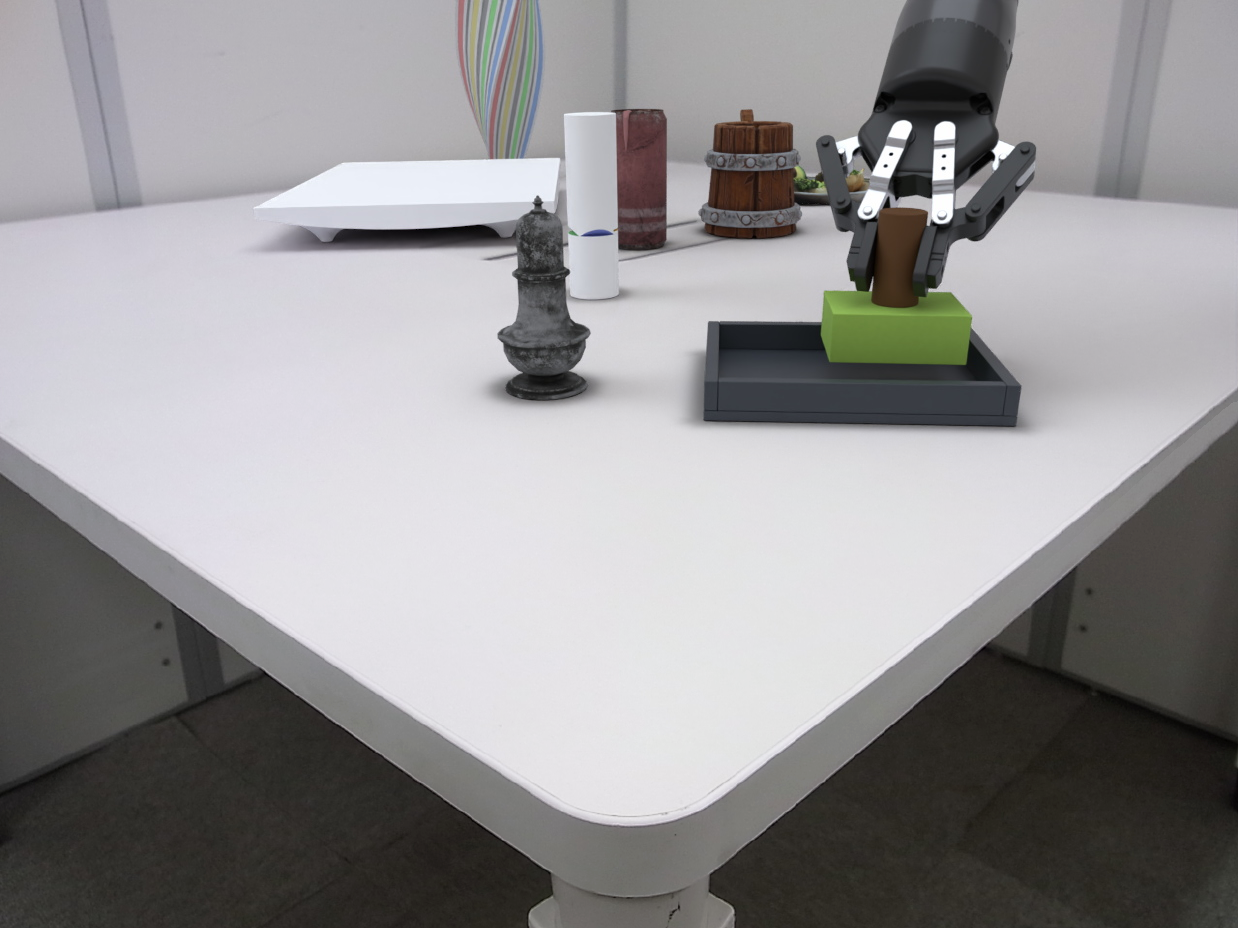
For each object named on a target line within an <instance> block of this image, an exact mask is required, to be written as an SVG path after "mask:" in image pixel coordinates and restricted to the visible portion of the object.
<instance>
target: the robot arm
mask: <svg viewBox="0 0 1238 928" xmlns="http://www.w3.org/2000/svg"><path fill="white" fill-rule="evenodd" d="M1019 2H1020V0H906V1H905V3H904V4H903V6H902V9H901V11H900V14H899V16H898V18H897V21H896V24H895V28H894V31H893V35H892V38H891V42H890V46H889V50H888V53H887V56H886V61H885V64H884V67H883V71H882V75H881V78H880V82H879V85H878V89H877V93H876V97H875V100H874V104H873V107H872V112H871V114H870V116H869V118H868V119H867V120H866V121H865V122H864V123H863V124H862V125H861V126H860V128H859V130H858V132H857V135H855V136H851V137H848V138H844V139H842V140H839V141H836V139H835V137H834V136H832V135H830V134H825V135H822V136H820V137H818V138H817V139H816V142H815V147H816V152H817V157H818V161H819V167H820V170H821V171H822V175H823V179H824V183H825V187H826V190H827V194H828V198H829V202H830V204H829V206H830V209H831V213H832V217H833V220H834V225H835V227H836V229H837V231H838V232H841V233H848V232H851V233H853V235H852V238H851V242H850V247H849V250H848V253H847V257H846V266H847V271H848V276H849V280H850V282H853V283H854V285H855V289H856V290H855V291H863V292H869V291H871V288H872V287H871V286H872V284H873V275H874V264H875V253H876V242H877V231H878V219H879V211H880V210H881V209H885V208H897V207H899V204H900V202H901V200H902V198H907V197H914V196H918V197H922V198H926V199H929V200H931V214H930V215H931V219H930V222H929V225H927V226H925V228H924V232H923V236H922V240H921V244H920V248H919V252H918V256H917V260H916V265H915V269H914V273H913V280H912V283H913V293H914V296H916V297H927V294H928V292H929V290H930V289H931V290H937V289H938V288H939V286H940V285H941V284H942V283H943V278H944V273H945V269H946V265H947V261H948V257H949V252H950V249H951V246H952V245H953V244H955V243H956V242H957V241H960V240H965V239H967V240H968V241H971V242H980V241H982V240H984V239H985V238H986V237H987V236H988V234H989V233H990V232H991V231H992V229H993V228H994V227H995V226H996V225H997V223H998V222H1000V219H1002V217H1004V215H1005V214H1006V213H1007V212H1008V210H1009V209H1010V208H1011V207H1012V205H1014V203H1015V202H1016V201H1017V200H1018V199H1019V197H1020V196H1021V195H1022V193H1023V192H1025V190H1026V189H1027V187H1028V186H1029V185H1030V184H1031V183H1032V181H1033V180H1034V178H1035V172H1036V162H1037V146H1036V144H1035V143H1033V142H1032V141H1022V142H1021V141H1020V142H1019V143H1017V144H1016V145H1014V144H1010V143H1008V142H1005V141H1003V140H1000V132H999V130H998V127H997V126H996V123H997V118H998V114H999V110H1000V105H1001V101H1002V96H1003V91H1004V87H1005V83H1006V79H1007V74H1008V71H1009V70H1010V67H1011V64H1012V60H1013V56H1014V54H1013V49H1014V43H1015V37H1016V30H1017V12H1018V7H1019ZM860 157H861V158H863V161H864V163H865V164H866V165H867V167H868V169H869V170H870V172H871V175H870V177H869V178H870V181H869V187H868V190H867V192H866V194H865V196H864V198H863V200H862V202H861V203H858V202H856V201H853V200H851V197H850V193H849V190H848V186H847V182H846V179H845V178H847V177H849V175H850V173H851V172H852V171H853V169H855V162H856V160H857V159H858V158H860ZM990 163H991V175H990V176H989V177H988V178H987V180H986V181H985V182H984V183H983V185H982V186H981V187H979V189H978V191H977V192H976V193H975V194H974V195H973V196H972V197H971V198H970V200H969V201H968V202H967V203H966V205H965V206H963V207H959V208H956V206H957V205H956V204H957V203H956V201H957V190H959V189H960V188H961V187H962V186H964V184H966V183H968V182H969V180H970V179H972V178H973V177H974V176H976V175H977V174H978V173H980V172H981V170H983V169H984V168H985V167H986V166H987V165H989V164H990ZM821 171H820V172H821Z"/></svg>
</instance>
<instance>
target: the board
mask: <svg viewBox="0 0 1238 928" xmlns="http://www.w3.org/2000/svg"><path fill="white" fill-rule="evenodd" d="M561 166H562V164H561V157H537V158H533V157H532V158H530V157H529V158H525V159H488V158H487V159H451V160H450V159H448V160H446V159H445V160H443V159H441V160H407V161H406V160H404V161H403V160H402V161H401V160H398V161H356V162H355V161H354V162H353V161H352V162H341V163H339V164H337V165H335V166H334V167H331V168H329V169H328V170H325V171H323V172H321V173H320V174H318V175H316V176H313V177H312V178H309V179H308V180H306V181H303V182H302V183H300V184H298V185H296V186H294V187H292V188H290V189H288V190H286V191H284V192H282V193H280V194H278V195H276V196H274V197H272V198H270V199H268V200H266V201H264V202H262V203H261V204H259V205H256V206H255V207H252V211H253V218H254V221H256V222H257V221H259V222H266V223H274V224H282V225H291V226H298V227H301V228H304V229H306V230H308V231H309V232H311V233H312V234H314V235H315V236H316V237H317V238H318V239H319V241H320V242H321V243H329V242H333V241H334V238H335V237H336V236H337V235H338V233H340V232H341V231H343V230H345V229H348V230H354V229H355V230H416V229H417V230H419V229H421V230H422V229H439V228H453V227H465V226H476V225H481V226H485V227H489V228H490V229H492V230H494V231H495V232H496V233H497V234H498V235H499V237H500V238H511V237H512V236H513V234H514V233H515V232H516V223H517V221H518V219H519V218H520V217H522V216H523V215H524V214H526V213H529V212H530V211H531V210H532V209H534V204H533V203H532V202H534V199H535V198H536V196H537V195H538V196H539V198H541V199H542V201H543V202H544V203H543V204H542V209H546V211H547V212H550V213H553V214H555V213H556V211H557V208H558V203H559V197H560V187H561V185H560V184H561V169H562V168H561Z"/></svg>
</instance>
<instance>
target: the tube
mask: <svg viewBox="0 0 1238 928" xmlns="http://www.w3.org/2000/svg"><path fill="white" fill-rule="evenodd" d="M563 126H564V127H563V130H564V131H563V133H564V155H565V156H564V157H565V158H564V159H565V184H566V185H565V187H566V188H565V189H566V212H567V213H566V216H567V227H568V228H569V229H570V230H569V231H567V232H568V233H567V238H568V239H567V240H568V241H567V242H568V243H567V244H568V269H569V270H570V274H569V292H570V293H569V295H570V296H571V297H572V298H574V299H580V300H607V299H611V298H615V297H617V296H619V294H620V279H619V277H620V276H619V275H620V274H619V273H620V271H619V270H620V269H619V248H618V229H617V228H618V209H617V151H616V113H611V111H610V112H609V111H585V112H583V111H582V112H581V111H580V112H568V113H564V114H563Z"/></svg>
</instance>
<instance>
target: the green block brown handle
mask: <svg viewBox="0 0 1238 928" xmlns="http://www.w3.org/2000/svg"><path fill="white" fill-rule="evenodd" d="M928 218H929V211H927V210H926V209H922V208H916V207H901V206H898V207H897V208H885V209H881V210H880V211H879V219H878V231H877V242H876V253H875V264H874V275H873V279H872V285H871V286H872V287H871V290H869V292H863V291H857V290H823V298H822V299H823V300H822V312H821V322H822V326H821V337H822V340H823V343H824V346H825V349H826V352H827V356H828V359H829V362H837V363H886V364H936V365H966V361H967V354H968V346H969V338H970V331H971V328H972V322H973V315H972V314H971V313H970V311H968V310H967V309H966V307H965V306H964V305H963V304H962V303H961V302H960V301H959V299H958V298H957V297H956V296H955V294H953V292H951V291H928V294H927V297H916V296H914V293H913V283H912V280H913V273H914V269H915V265H916V260H917V256H918V252H919V248H920V244H921V240H922V236H923V232H924V228H925V226H928Z"/></svg>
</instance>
